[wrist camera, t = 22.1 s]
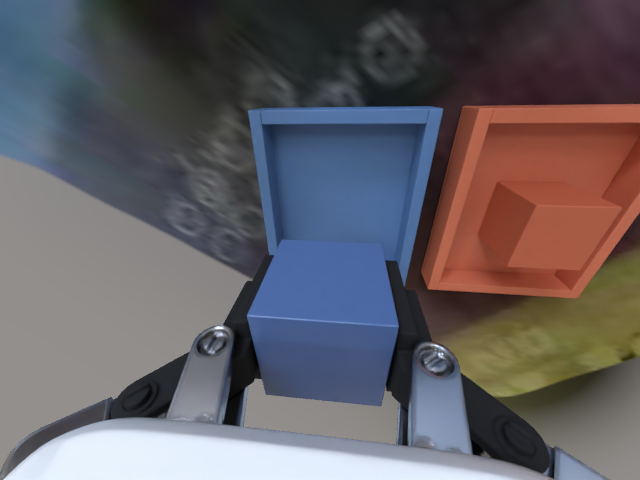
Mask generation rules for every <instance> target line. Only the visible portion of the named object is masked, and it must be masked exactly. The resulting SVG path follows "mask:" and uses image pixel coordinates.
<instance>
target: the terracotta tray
mask: <svg viewBox="0 0 640 480" xmlns="http://www.w3.org/2000/svg"><path fill="white" fill-rule="evenodd" d="M498 181H516V182H564V183H567V184H569V185H571V186H574V187H576V188H578V189H581V190H583V191H585V192H587V193H590V194H592V195H594V196H597V197H599V198H601V199H604V200H606V201H608V202H611V203H613V204H615V205H618V206H620V207H622V209H621V211H620V212H619V214H618V215H617V217H616V218H615V220H614V221H613V223H612V224H611V225H610V227H609V228H608V230H607V231H606V233H605V234H604V236H603V237H602V239H601V240H600V242H599V243H598V245H597V246H596V248H595V249H594V251H593V252H592V254H591V255H590V256H589V258H588V259H587V261H586V262H585V264H584V265H583V267H582V268H581V270H562V269H542V268H521V267H507V266H506V265H505V264H504V263H503V261H502V260H501V259H500V258H499V257H498V256H497V255H496V254H495V252H494V251H493V250H492V249H491V248H490V247H489V246H488V245H487V243H486V242H485V241H484V240H483V239H482V238H481V237H480V236H479V234H478V233H479V230H480V227H481V225H482V222H483V219H484V216H485V214H486V211H487V208H488V206H489V203H490V200H491V197H492V195H493V192H494V189H495V187H496V184H497V182H498ZM639 213H640V104H596V105H502V106H463V107H462V110H461V114H460V118H459V122H458V126H457V130H456V134H455V138H454V142H453V146H452V150H451V154H450V158H449V162H448V166H447V170H446V174H445V178H444V182H443V186H442V189H441V193H440V197H439V201H438V205H437V209H436V213H435V217H434V221H433V225H432V229H431V233H430V237H429V241H428V245H427V249H426V253H425V257H424V261H423V265H422V269H421V273H422V276H423V278H424V281H425V283H426V286H427V288H428V289H430V290H437V289H438V290H448V291H464V292H481V293H497V294H514V295H530V296H547V297H563V298H566V297H567V298H578V297H579V295H580V294H581V292H582V291H583V290H584V288H585V287H586V286H587V284H588V283H589V281H590V280H591V279H592V277H593V276H594V275H595V273H596V272H597V270H598V269H599V268H600V266H601V265H602V264H603V262H604V261H605V259H606V258H607V257H608V255H609V254H610V253H611V251H612V250H613V248H614V247H615V246H616V244H617V243H618V242H619V240H620V239H621V237H622V236H623V235H624V233H625V232H626V231H627V229H628V228H629V226H630V225H631V224H632V222H633V221H634V219H635V218H636V217H637V215H638V214H639Z"/></svg>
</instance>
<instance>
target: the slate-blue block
mask: <svg viewBox="0 0 640 480" xmlns="http://www.w3.org/2000/svg"><path fill="white" fill-rule="evenodd" d="M247 319H248V323H249V327H250V331H251V335H252V340H253V344H254V348H255V352H256V356H257V360H258V364H259V368H260V373H261V377H262V381H263V385H264V389H265V393H266V395H275V396H285V397H295V398H304V399H315V400H324V401H334V402H344V403H353V404H363V405H374V406H381V404H382V400H383V396H384V391H385V386H386V382H387V378H388V374H389V369H390V365H391V360H392V356H393V351H394V347H395V343H396V338H397V334H398V329H399V324H398V319H397V314H396V309H395V305H394V300H393V295H392V291H391V286H390V281H389V277H388V272H387V267H386V263H385V258H384V253H383V249H382V244H379V243H354V242H330V241H305V240H281V242H280V244H279V246H278V249H277V251H276V253H275V255H274V257H273V259H272V262H271V264H270V266H269V268H268V270H267V273H266V275H265V277H264V279H263V281H262V284H261V286H260V288H259V290H258V292H257V294H256V297H255V299H254V301H253V303H252V305H251V308H250V310H249V312H248V314H247Z"/></svg>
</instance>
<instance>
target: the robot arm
mask: <svg viewBox="0 0 640 480" xmlns="http://www.w3.org/2000/svg"><path fill="white" fill-rule="evenodd" d="M273 257H274V255H266V256H265V258H264V260H263V262H262V264H261V266H260V268H259V270H258V272H257V274H256V275H255V277H254V279H253V281H247V282H246V283H245V285H244V287H243V289H242V291H241V293H240V294H239V297H238V298H237V300H236V302H235V304H234V305H233V307H232V309H231V311H230V313H229V315H228V317H227V319H226V320H225V322H224V324H223V326H222V325H221V326H220V325H219V326H218V325H217V326H213V327H210V328H208V329H206V330H204V331H203V332H202V333H200V334H199V335H198V336H197V337H196V339H195V341H194V342H193V345H192V347H191V350H190V352H188V353H186V354H184V355H183V356H181V357H179V358H177V359H175V360H173V361H172V362H170V363H168V364H166V365H165V366H163V367H161V368H159V369H157V370H155V371H154V372H152V373H150V374H148V375H146V376H144V377H143V378H141V379H139V380H137V381H135V382H134V383H132V384H131V385H129V386H128V387H127V388H126V389H125V390H124V391H122V392H121V394H120V395H119V396H118V398H116V399H114V400H113V399H112V397H110V398H108V399H105V400H103V401H101V402H99V403H97V404H94V405H92V406H89V407H87V408H85V409H83V410H80V411H78V412H76V413H74V414H71V415H69V416H67V417H64V418H62V419H60V420H58V421H55V422H53V423H51V424H48V425H46V426H44V427H42V428H40V429H38V430H36V431H34V432H32V433H31V434H29V435H28V436H27V437H25V438H24V439H23V440H22V441H20V442H19V443H18V444H17V446H16V447H15V448H14V449H13V450H12V451H11V452H10V454H9V455H8V457H7V459H6V460H5V462H4V464H3V466H2V469H1V471H0V480H609V479H608V478H606V477H605V476H603V475H601V474H600V473H598V472H597V471H595V470H593V469H592V468H590V467H589V466H587V465H585V464H584V463H582V462H581V461H579V460H577V459H576V458H574V457H573V456H571V455H570V454H568V453H566V452H565V451H563V450H562V449H560V448H558V447H557V446H555V447H554V448H552V447H550V446H548V445H547V444H545V443H544V441H543V439H542V438H541V436H540V435H539V434H538V433H537V432H536V430H535V429H534V428H533V427H532V426H530V425H529V424H528V423H527V422H526V421H525V420H523V419H522V418H520V417H519V416H518V415H517V414H515V413H514V412H513V411H511V410H510V409H509V408H507V407H506V406H505V405H503V404H502V403H500V402H499V401H498V400H497V399H495V398H494V397H493V396H491V395H490V394H488V393H487V392H486V391H484V390H483V389H482V388H480V387H479V386H478V385H476V384H475V383H474V382H472V381H471V380H470V379H468V378H467V377H466V376H464V375H463V374H462V373H461V372H460V366H459V363H458V360H457V358H456V357H455V355H454V354H453V353H452V352H451V351H450V350H449V349H448V348H446V347H445V346H443V345H441V344H439V343H436V342H432V340H431V337H430V334H429V331H428V327H427V324H426V321H425V318H424V315H423V312H422V309H421V306H420V303H419V300H418V297H417V294H416V292H415V291H414V290H405V288H404V284H403V281H402V277H401V274H400V270H399V266H398V263H397V261H392V260H385V263H386V267H387V272H388V277H389V281H390V286H391V291H392V295H393V300H394V305H395V309H396V314H397V319H398V324H399V329H398V334H397V338H396V343H395V347H394V351H393V356H392V360H391V365H390V369H389V374H388V378H387V382H386V389H387V391H391V392H392V396H393V397H394V398H395V399H396V400H397V401H398V402H399V407H398V422H397V438H396V445H394V444H386V443H377V442H369V441H361V440H353V439H344V438H336V437H328V436H327V437H326V436H319V435H311V434H302V433H293V432H284V431H276V430H267V429H258V428H249V427H244V418H245V410H246V401H247V393H248V385H250V384H251V383H252V382H254V379H255V378H256V379H262V377H261V373H260V368H259V364H258V360H257V356H256V352H255V348H254V344H253V340H252V335H251V331H250V327H249V323H248V319H247V314H248V312H249V310H250V308H251V305H252V303H253V301H254V299H255V297H256V294H257V292H258V290H259V288H260V286H261V284H262V281H263V279H264V277H265V275H266V273H267V270H268V268H269V266H270V264H271V262H272V259H273Z"/></svg>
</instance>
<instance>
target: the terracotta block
mask: <svg viewBox="0 0 640 480" xmlns="http://www.w3.org/2000/svg"><path fill="white" fill-rule="evenodd" d="M621 209H622V207H620V206H618V205H615V204H613V203H611V202H608V201H606V200H604V199H601V198H599V197H597V196H594V195H592V194H590V193H587V192H585V191H583V190H581V189H578V188H576V187H574V186H571V185H569V184H567V183H564V182H516V181H498V182H497V184H496V187H495V189H494V192H493V195H492V197H491V200H490V203H489V206H488V208H487V211H486V214H485V216H484V219H483V222H482V225H481V227H480V230H479V233H478V234H479V236H480V237H481V238H482V239H483V240H484V241H485V242H486V243H487V245H488V246H489V247H490V248H491V249H492V250H493V251H494V252H495V254H496V255H497V256H498V257H499V258H500V259H501V260H502V261H503V263H504V264H505V265H506V266H507V267H521V268H542V269H562V270H581V268H582V267H583V265H584V264H585V262H586V261H587V259H588V258H589V256H590V255H591V254H592V252H593V251H594V249H595V248H596V246H597V245H598V243H599V242H600V240H601V239H602V237H603V236H604V234H605V233H606V231H607V230H608V228H609V227H610V225H611V224H612V223H613V221H614V220H615V218H616V217H617V215H618V214H619V212H620V211H621Z"/></svg>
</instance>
